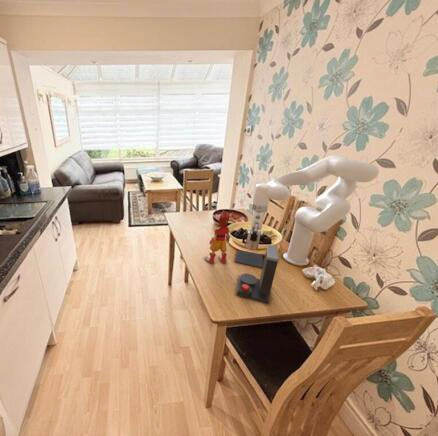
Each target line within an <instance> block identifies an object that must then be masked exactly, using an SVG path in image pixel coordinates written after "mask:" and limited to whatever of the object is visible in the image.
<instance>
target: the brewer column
mask: <svg viewBox="0 0 438 436" xmlns="http://www.w3.org/2000/svg"><path fill="white" fill-rule="evenodd" d="M279 257H280V256H279V248H278V246H276V245H271V244H267V245H266V250H265V255H264V258H263V268H261V272H260V276H259V280H260V289H259V293H261V294H265V295H268V296H270V295H271V290H272V287H273V283H274V279H275V275H276V272H277V267H278V263H279V260H280V258H279ZM239 278H240V279H241V281H243V282H244V283H246V284H251V285H253V284H256V283H257V281H258V280H257V279H258V278H257V277H256V276H255V275H254V274H250V273H241V274H240V275H239Z"/></svg>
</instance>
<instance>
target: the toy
mask: <svg viewBox="0 0 438 436" xmlns="http://www.w3.org/2000/svg"><path fill="white" fill-rule="evenodd" d="M213 217H214V218H215V219H216V220H217V223H218V225H219V227H218V228H217V229H216V228H215V230H214V235H213V237H212V236H211V239H210V240H209V250H210V251H211V252H209V255H207V256H206V257H205V258H204V259H205V260H206V261H207V262H208V263H210V264H214V263H215V258H216V256H217V254H216V252H218V251H220V255H219V260H220V261H221V262H222V264H226V261H227V260H226V258H227V253H226V252H227V249H228V248H227V244H228V243H229V242H230V239H231V235H230V228H229V226H228V224H229V220H230V215H228V214H227V213H226V211H225V210H224V209H223V210H222V211H221V213H220V214H218V213H215V214H214V215H213Z"/></svg>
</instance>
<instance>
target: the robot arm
mask: <svg viewBox="0 0 438 436" xmlns="http://www.w3.org/2000/svg"><path fill="white" fill-rule="evenodd" d="M379 172H380V170H379V167H378V166H377V165H376V164H374V163H370V162H366V161H362V160H357V159H351V158H348V157H343V156H340V155H329V156H326V157H324V158H321V159H319V160H317V161H316V162H314V163H313V164H311V165H308V166H306V167H304V168H302V169H299V170H294V171H290V172H287V173H284V174H281V175H279V176H277V177H274V178H273V179H271V180H269V182H267V183H266V182H265V183H262V182H261V183H257V184H256V185H255V186H254V187H255V188H254V193H253V198H252V203H251V211H253V212H252V217H251V230H252V233H251V237H250V240H251V241H257V236H258V231H262V228H263V224H264V219H265V213H267V212H268V208H269V204H270V201H271V200H274V201H285V200H287V199H288V198H289V197H290V196H291V190H290V189H289V187H293V186H311V185H313V184H315V183H317V182H320V181H321V180H323V179H325V178H327V177H329V176H335V177H337V181H336V182H335V183H334V184H333V185H332V186H331V187H329V188H328V189H327V190H325V191H324V192H323V193H322V194H321V195H319V196H318V197H317V198H316V199H315V201H314V205H315V207H316V208H317V209H319V210H320V211H321V212H320V211H319V210H317V209H316V208H314V207H311V206H309V205H307V206H302V207H300V208H298V209H297V211H296V212H295V216H294V227H293V230H292V234H291V238H290V241H289V244H288V245H289V246H288V248H287V252H284V253H283V254H282V257H283V259H284V260H285V261H286V262H287V263H289V264H291V265H295V266H302V267H303V266H308V265H309V263H310V260H309V258H308V256H309V255H308V254H309V251H310V249H311V245H312V242H313V239H314V236H315V233H316V234H319V233H320V234H321V233H323V232H326V231H327V230H328V229H330V228H331V227H333V226H334V225H336V224H337V223H338V222H340V221H341V220H342V219H344V218H346V216H348V214H349V213H350V211H351V206H352V205H351V202H349V200H347V199H348V198H349V197H350V196H352V194H353V193H354V192H355V190H356V188H357V183H358V182H359V183H369V182H372V181H374V180H375V179H376V178H377V177H378V175H379ZM253 230H254V231H253Z"/></svg>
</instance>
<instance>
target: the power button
mask: <svg viewBox="0 0 438 436" xmlns="http://www.w3.org/2000/svg"><path fill="white" fill-rule="evenodd" d="M242 290H243V291H248V290H249V286H248V285H246V284H243V285H242Z"/></svg>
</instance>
